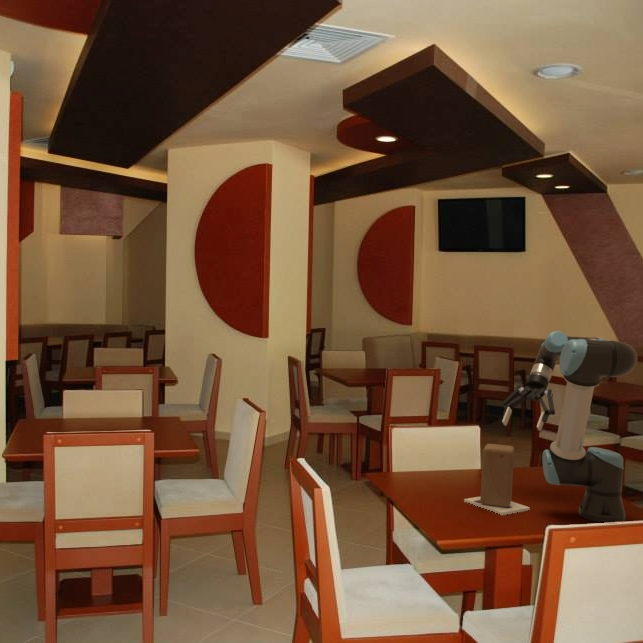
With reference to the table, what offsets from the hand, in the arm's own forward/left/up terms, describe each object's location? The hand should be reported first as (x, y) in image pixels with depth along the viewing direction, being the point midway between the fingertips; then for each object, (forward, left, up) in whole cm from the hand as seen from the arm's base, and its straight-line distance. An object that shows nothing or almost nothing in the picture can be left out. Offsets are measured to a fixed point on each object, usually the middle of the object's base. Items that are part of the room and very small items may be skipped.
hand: (521, 426), depth 283 cm
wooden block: (-2, +14, -26) cm, 30 cm away
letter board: (-3, +13, -27) cm, 30 cm away
